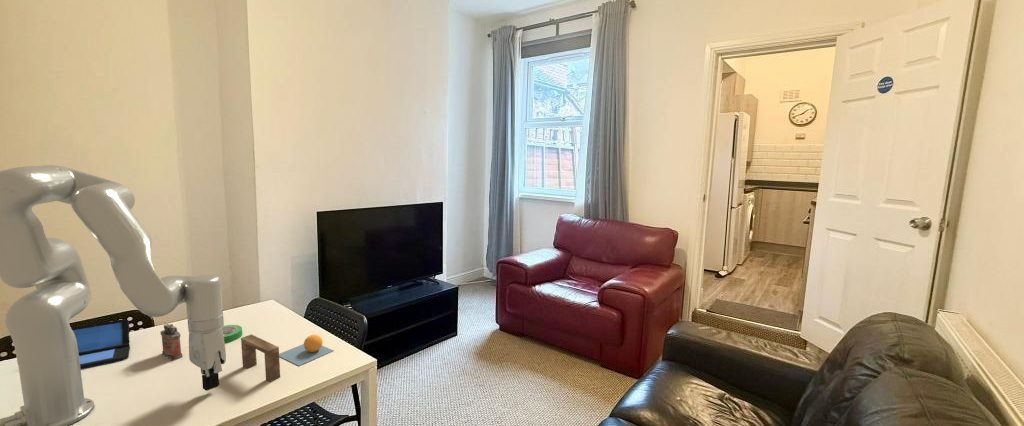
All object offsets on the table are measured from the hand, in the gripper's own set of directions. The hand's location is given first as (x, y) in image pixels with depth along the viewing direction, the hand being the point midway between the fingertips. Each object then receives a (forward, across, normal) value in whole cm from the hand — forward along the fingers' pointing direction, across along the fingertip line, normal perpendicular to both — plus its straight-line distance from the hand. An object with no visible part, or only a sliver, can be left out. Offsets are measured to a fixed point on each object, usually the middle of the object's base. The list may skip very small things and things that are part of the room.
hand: (211, 387), depth 112 cm
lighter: (+2, -32, +3) cm, 32 cm away
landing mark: (+2, 0, +27) cm, 27 cm away
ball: (-1, +1, +29) cm, 29 cm away
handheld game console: (+2, -48, -10) cm, 50 cm away
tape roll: (+2, -33, +18) cm, 38 cm away
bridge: (+2, 0, +13) cm, 13 cm away
